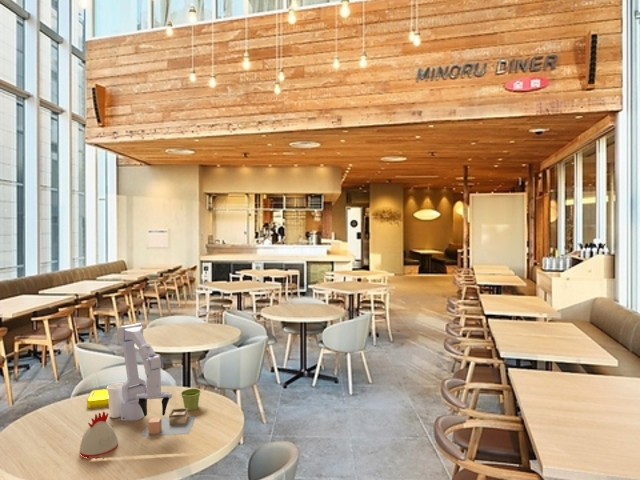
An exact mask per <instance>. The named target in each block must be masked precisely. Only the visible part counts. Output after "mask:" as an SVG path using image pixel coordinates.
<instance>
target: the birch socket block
mask: <svg viewBox="0 0 640 480" xmlns="http://www.w3.org/2000/svg"><path fill="white" fill-rule="evenodd" d="M188 416H189V410H188V408H185V407H183V408H172V409H171V411H170V412H169V416H168V417H169V424H182V423H186V421H187V418H188Z"/></svg>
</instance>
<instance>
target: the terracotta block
mask: <svg viewBox="0 0 640 480" xmlns="http://www.w3.org/2000/svg"><path fill="white" fill-rule="evenodd" d="M161 418H162V417H150V419H149V421H148V423H147V425H148V431H149V434H157V433H160V431H161V429H162V423H161Z"/></svg>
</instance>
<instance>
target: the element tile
mask: <svg viewBox="0 0 640 480" xmlns="http://www.w3.org/2000/svg"><path fill="white" fill-rule="evenodd" d="M87 407H88V408H87ZM96 407H98V408H106V407H109V401H108V391H107V388H103V389H94V390H92V391H90V394H89V395H88V397H87V399H86V408H87V409H97V408H96Z"/></svg>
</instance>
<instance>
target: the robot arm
mask: <svg viewBox="0 0 640 480" xmlns="http://www.w3.org/2000/svg"><path fill="white" fill-rule="evenodd" d="M117 338H118V344H119V345H122V349H123V355H124V356H123V357H124V363H125V371H126V377H127V380H126V381H125V382H124V383H123V386H122V398H123V400H124V401H123V402H122V404H121V416H120V421H137V420H141V419H142V418H144V417H147V416H148V400H155V399H161V406H162V407H161V408H162V410H161V411H162V412H161V413H162V414H161V415H162V416H163V417H165V415H166V410H167V406H168V403H169V400H170V399H172V398H173V392H167V391H162V380H161V379H162V378H161V377H162V375H161V373H162V371H161V369H162V368H163V367H164V362H163V361H164V360H163V358H162V356H161V354H159V353H156V351H154V348H153V347H152V345H151V344H148V343H147V342H146V339H145V338H144V326H143V325H142V324H141V322H137V323H133V324H127V325H119V327H118V329H117ZM135 345H136V346H137V348H138V351H137V352H138V354H139V357H140V358H141V359H142V361H143V368H144V374H145V375H146V382H145V380H144V379H142V378H141V377H139V376H140V375H139V368H138V362H137V355H136V349H135V348H136V347H135Z"/></svg>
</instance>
